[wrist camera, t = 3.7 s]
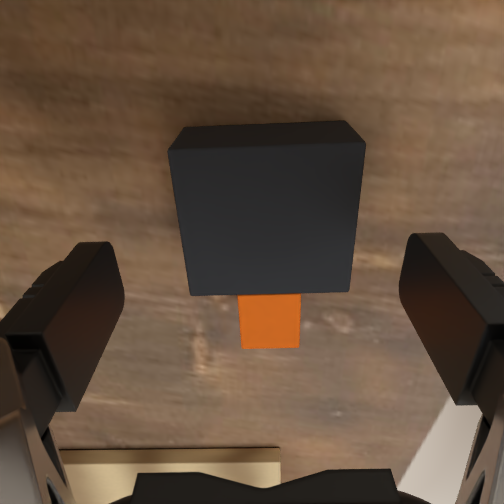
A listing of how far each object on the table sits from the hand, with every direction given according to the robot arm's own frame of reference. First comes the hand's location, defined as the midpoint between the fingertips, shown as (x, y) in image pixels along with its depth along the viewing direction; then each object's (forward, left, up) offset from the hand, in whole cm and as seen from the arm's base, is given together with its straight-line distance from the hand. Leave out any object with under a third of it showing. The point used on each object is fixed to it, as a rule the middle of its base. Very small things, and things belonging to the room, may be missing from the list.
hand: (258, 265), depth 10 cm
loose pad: (0, +2, -6) cm, 6 cm away
